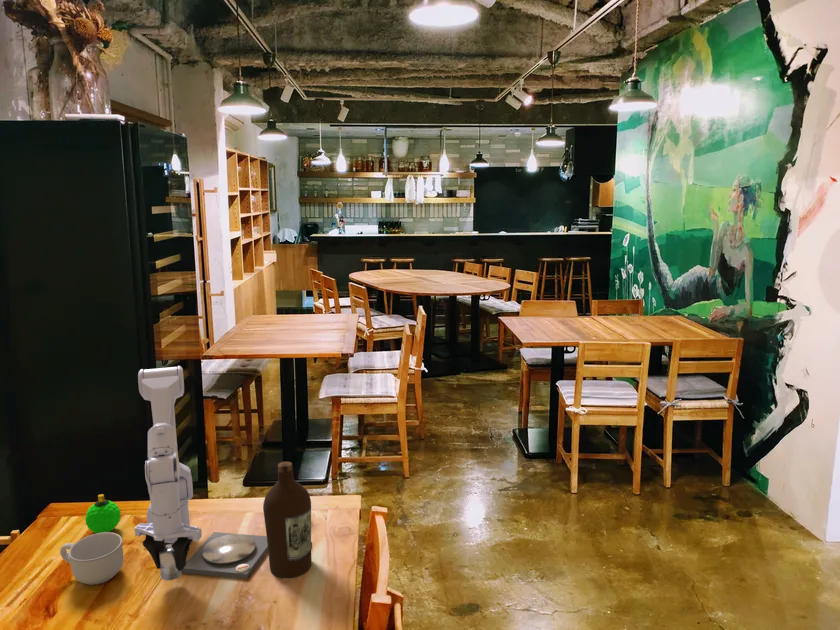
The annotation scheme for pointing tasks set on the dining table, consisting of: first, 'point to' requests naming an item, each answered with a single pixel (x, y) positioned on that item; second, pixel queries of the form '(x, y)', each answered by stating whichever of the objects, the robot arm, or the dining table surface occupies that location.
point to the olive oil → (288, 525)
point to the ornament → (102, 515)
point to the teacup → (95, 557)
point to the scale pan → (228, 549)
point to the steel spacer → (168, 563)
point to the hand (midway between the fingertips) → (171, 567)
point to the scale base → (234, 570)
